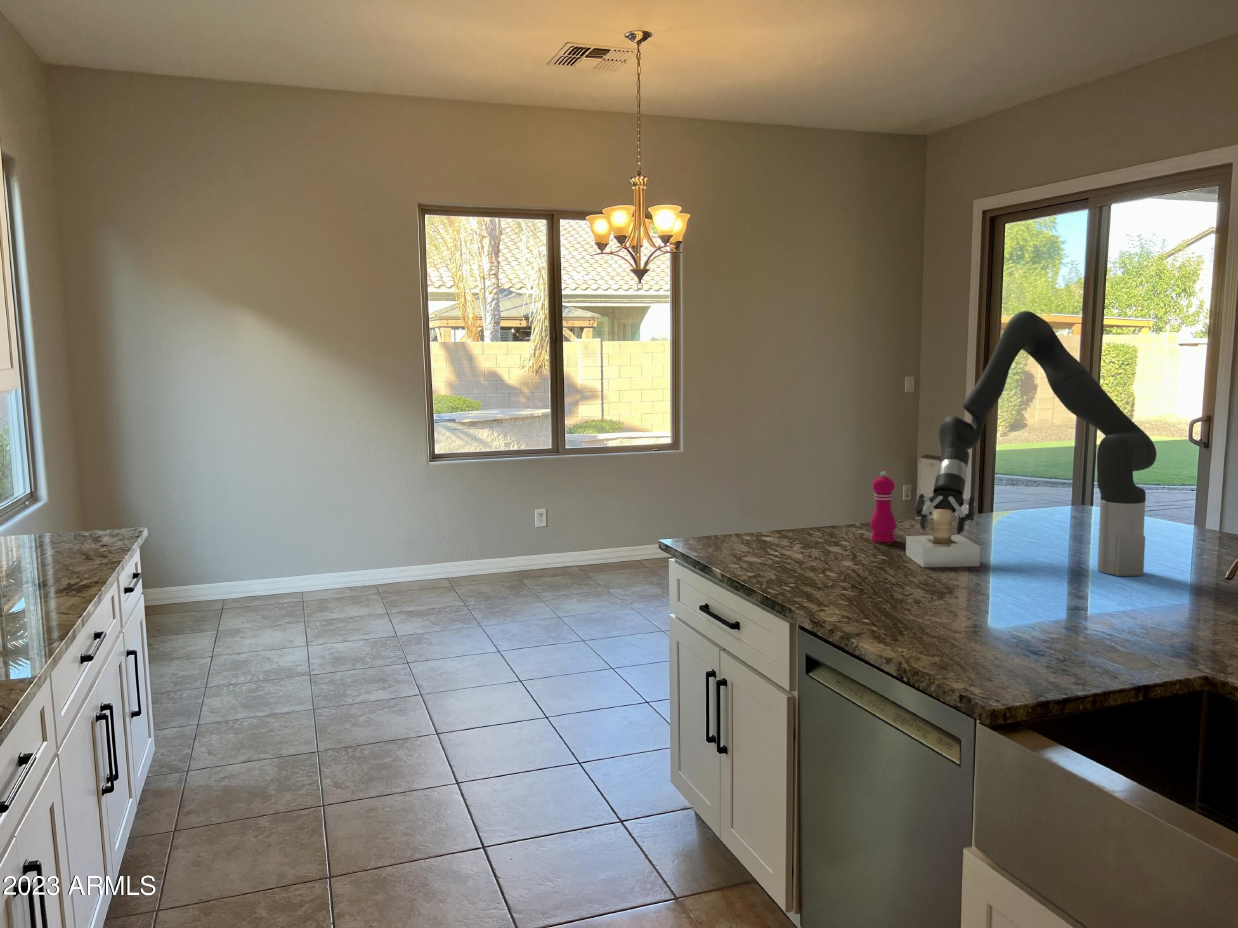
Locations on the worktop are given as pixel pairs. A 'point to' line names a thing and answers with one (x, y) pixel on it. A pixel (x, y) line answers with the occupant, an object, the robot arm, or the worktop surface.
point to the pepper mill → (883, 510)
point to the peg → (942, 526)
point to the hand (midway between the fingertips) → (941, 530)
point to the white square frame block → (943, 552)
